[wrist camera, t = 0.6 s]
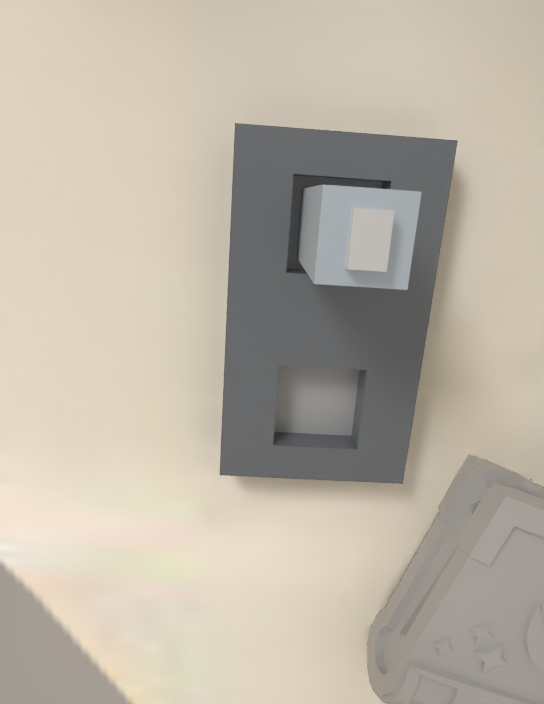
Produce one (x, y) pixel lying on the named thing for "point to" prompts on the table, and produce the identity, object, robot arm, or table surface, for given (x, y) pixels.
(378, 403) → the jack panel
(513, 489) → the grey lumpy block
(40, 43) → the table surface
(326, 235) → the plug
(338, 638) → the table surface
